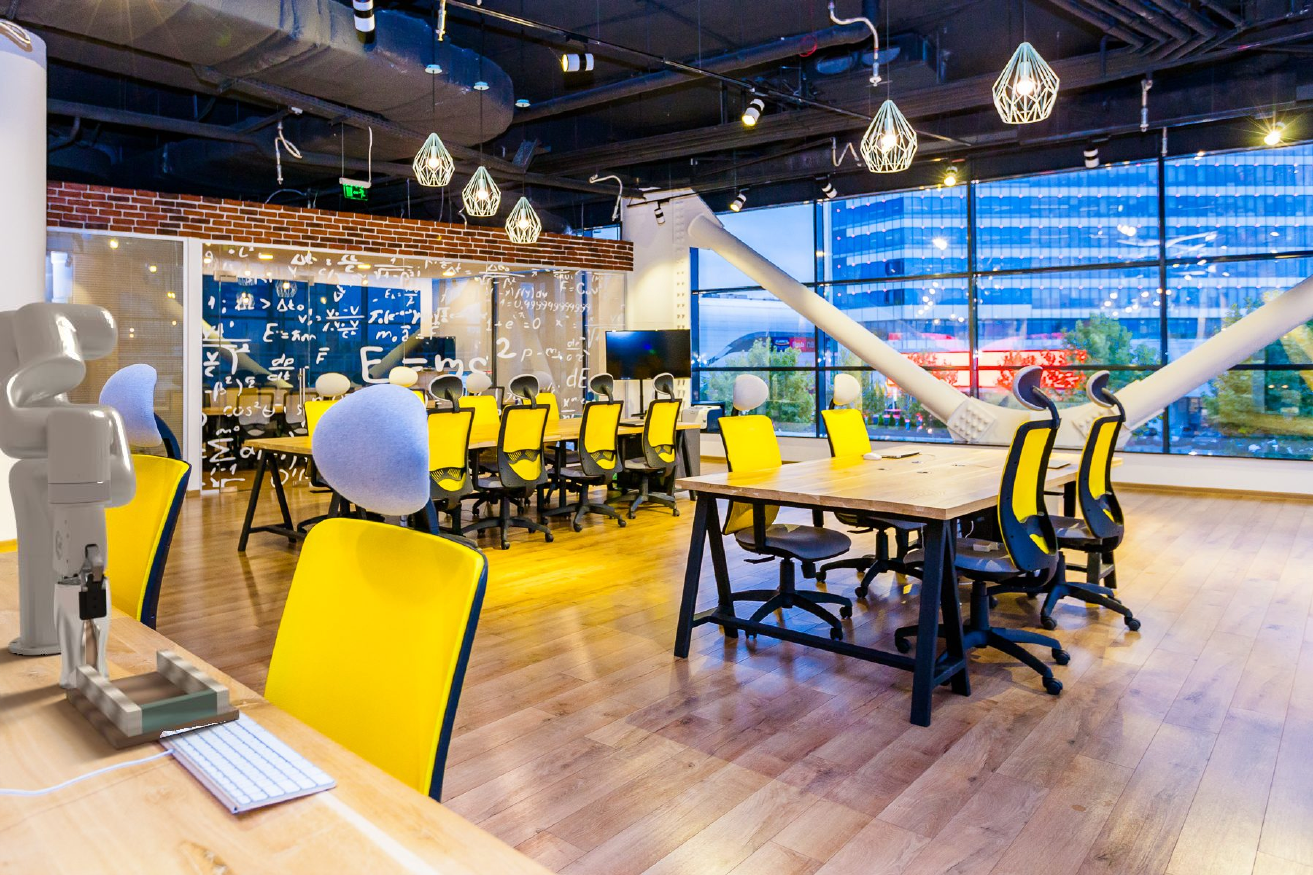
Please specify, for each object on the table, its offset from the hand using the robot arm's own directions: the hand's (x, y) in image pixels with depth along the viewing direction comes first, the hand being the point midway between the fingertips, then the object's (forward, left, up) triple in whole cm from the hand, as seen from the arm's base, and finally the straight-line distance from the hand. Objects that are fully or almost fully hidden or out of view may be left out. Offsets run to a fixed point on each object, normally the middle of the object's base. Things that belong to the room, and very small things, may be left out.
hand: (84, 612), depth 125 cm
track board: (+9, +14, -10) cm, 20 cm away
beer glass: (-1, -1, -11) cm, 11 cm away
